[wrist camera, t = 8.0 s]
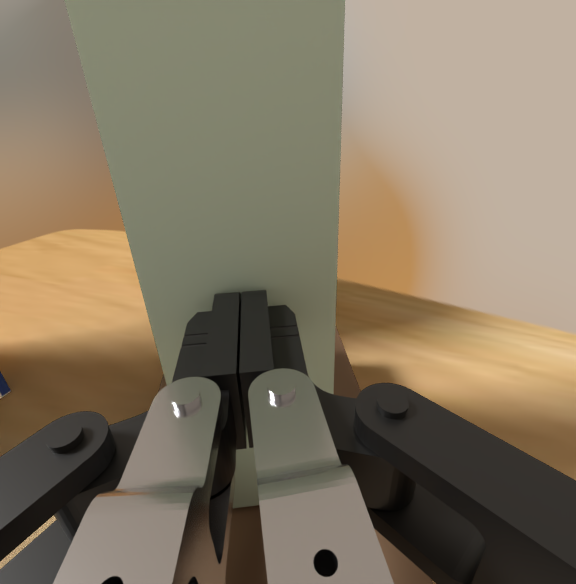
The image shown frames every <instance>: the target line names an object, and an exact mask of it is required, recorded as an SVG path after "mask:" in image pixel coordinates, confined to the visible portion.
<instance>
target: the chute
mask: <svg viewBox="0 0 576 584" xmlns="http://www.w3.org/2000/svg"><path fill="white" fill-rule="evenodd" d="M165 386H167V385H166V381H165V377H164V374H163V378H162V381H161V384H160V388H159V391H158V392H160V391H161V390H162V389H163V388H164V387H165ZM360 392H361V391H360V389H359V386H358V383H357V381H356V378H355V375H354V373H353V370H352V367H351V365H350V362H349V359H348V357H347V354H346V352H345V349H344V346H343V344H342V341H341V338H340V336H339V333H338V330H337V328H336V325H335V359H334V395H338V396H344V397H350V398H357V396H358V395H359V393H360ZM374 530H375V529H374ZM375 533H376V535H377V538H378V541H379V544H380V546H381V549H382V552H383V555H384V557H385V560H386V563H387V566H388V568H389V571H390V574H391V577H392V579H393V582H394V584H433V582H432V580H431V578H430V577H429V576H427V575H426V574H425V573H424V572H423V571H422V570H421V569H420V568H418V567H417V566H416V565H415V564H414V563H413V562H412V561H410V560H409V559H408V558H407V557H406V556H405V555H404V554H403V553H401V552H400V551H399V550H398V549H397V548H396V547H395V546H394V545H392V544H391V543H390V542H389V541H388V540H387V539H386V538H385V537H383V536H382V535H381V534H380V533H379V532H378V531H377V530H375ZM225 584H268V581H267V571H266V562H265V552H264V543H263V534H262V524H261V515H260V505H257V506H249V507H240V508H233V509H232V518H231V527H230V536H229V545H228V554H227V563H226V576H225Z"/></svg>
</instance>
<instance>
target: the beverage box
mask: <svg viewBox="0 0 576 584" xmlns="http://www.w3.org/2000/svg"><path fill="white" fill-rule="evenodd" d="M10 392H11V390H10V388H9V387H8V385H7V383H6V381H5V379H4V377H3V376H2V374H1V372H0V399H1V398H2V397H4V396H5V395H7V394H8V393H10Z"/></svg>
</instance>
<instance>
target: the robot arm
mask: <svg viewBox="0 0 576 584" xmlns="http://www.w3.org/2000/svg"><path fill="white" fill-rule="evenodd" d="M247 434H248V442H249V448H254V454H255V464H256V473H257V486H258V496H259V505H260V515H261V524H262V534H263V543H264V552H265V562H266V571H267V581H268V584H394V582H393V579H392V577H391V574H390V571H389V568H388V566H387V563H386V560H385V557H384V555H383V552H382V549H381V546H380V544H379V541H378V538H377V535H376V533H375V530H377V531H378V532H379V533H380V534H381V535H382V536H383V537H385V538H386V539H387V540H388V541H389V542H390V543H391V544H392V545H394V546H395V547H396V548H397V549H398V550H399V551H400V552H401V553H403V554H404V555H405V556H406V557H407V558H408V559H409V560H410V561H412V562H413V563H414V564H415V565H416V566H417V567H418V568H420V569H421V570H422V571H423V572H424V573H425V574H426V575H427V576H429V577H430V578H431V579H432V580H433V581H434V582H435V583H436V584H576V481H575V480H574V479H572V478H570V477H568V476H566V475H565V474H563V473H561V472H559V471H557V470H556V469H554V468H552V467H550V466H548V465H546V464H545V463H543V462H541V461H539V460H537V459H536V458H534V457H532V456H530V455H528V454H527V453H525V452H523V451H521V450H519V449H517V448H516V447H514V446H512V445H510V444H508V443H507V442H505V441H503V440H501V439H499V438H498V437H496V436H494V435H492V434H490V433H488V432H487V431H485V430H483V429H481V428H479V427H478V426H476V425H474V424H472V423H470V422H469V421H467V420H465V419H463V418H461V417H459V416H458V415H456V414H454V413H452V412H450V411H449V410H447V409H445V408H443V407H441V406H440V405H438V404H436V403H434V402H432V401H430V400H429V399H427V398H425V397H423V396H421V395H420V394H418V393H416V392H414V391H412V390H411V389H408V388H406V387H404V386H401V385H397V384H392V383H378V384H374V385H370V386H368V387H366V388H365V389H363V390H362V391H361V392H360V393H359V395H358V396H357V398H350V397H344V396H338V395H334V394H331V393H328V392H326V391H323V390H322V389H320V388H319V387H317V386H316V385H315V384H314V383H313V382H312V380H311V379H310V378H309V376H308V373H307V368H306V363H305V359H304V354H303V349H302V345H301V340H300V337H299V331H298V327H297V321H296V316H295V313H294V312H293V311H292V310H291V309H290V308H288V307H287V306H286V305H277V306H268V302H267V291H266V290H256V291H244V292H242V296H241V294H240V292H232V293H220V294H215V295H214V300H213V306H212V311H206V312H197V313H196V314H195V315H194V316H193V317H192V318H191V319H190V321H189V322H188V323H187V326H186V329H185V333H184V337H183V341H182V347H181V349H180V353H179V356H178V360H177V364H176V368H175V372H174V376H173V379H172V383H170V384H169V385H167V386H165V387H164V388H163V389H162V390H161V391H160V392H158V394H157V395H156V396H155V398H154V400H153V402H152V404H151V406H150V409H149V410H148V411H146V412H145V413H143V414H140V415H138V416H135V417H132V418H130V419H127V420H124V421H121V422H118V423H115V424H112V425H108V423H107V421H106V419H105V418H104V417H103V416H102V415H101V414H99V413H96V412H90V411H83V412H76V413H72V414H69V415H66V416H63V417H61V418H59V419H57V420H55V421H53V422H51V423H50V424H48V425H47V426H45V427H44V428H42V429H41V430H39V431H38V432H36V433H35V434H33V435H32V436H30V437H29V438H27V439H26V440H24V441H23V442H22V443H20V444H19V445H17V446H16V447H14V448H13V449H11V450H10V451H8V452H7V453H5V454H4V455H2V456H1V457H0V561H1V560H2V559H4V558H5V557H6V556H7V555H8V554H9V553H10V552H12V551H13V550H14V549H15V548H16V547H17V546H18V545H20V544H21V543H22V542H23V541H24V540H25V539H27V538H28V537H29V536H30V535H31V534H32V533H33V532H35V531H36V530H37V529H38V528H39V527H40V526H42V525H43V524H44V523H45V522H46V521H47V520H48V519H50V518H51V517H52V516H53V515H54V516H55V517H56V519H57V520H56V521H55V522H54V523H53V524H51V525H50V526H49V527H48V528H47V529H46V530H45V531H43V532H42V533H41V534H40V535H39V536H38V537H37V538H36V539H34V540H33V541H32V542H31V543H30V544H29V545H28V546H26V547H25V548H24V549H23V550H22V551H21V552H20V553H19V554H17V555H16V556H15V557H14V558H13V559H12V560H11V561H9V562H8V563H7V564H6V565H5V566H4V567H3V568H2V569H0V584H225V576H226V563H227V554H228V545H229V536H230V527H231V518H232V509H233V500H234V491H235V474H234V473H235V468H236V450H238V449H247ZM374 529H375V530H374Z"/></svg>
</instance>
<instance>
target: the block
mask: <svg viewBox="0 0 576 584" xmlns="http://www.w3.org/2000/svg"><path fill="white" fill-rule="evenodd" d="M65 4H66V8H67V12H68V16H69V19H70V23H71V27H72V31H73V34H74V38H75V42H76V46H77V49H78V53H79V57H80V61H81V64H82V68H83V72H84V76H85V79H86V83H87V87H88V91H89V95H90V98H91V102H92V106H93V110H94V113H95V117H96V121H97V124H98V129H99V132H100V136H101V139H102V144H103V147H104V151H105V155H106V158H107V162H108V166H109V170H110V174H111V177H112V181H113V185H114V189H115V192H116V196H117V200H118V204H119V208H120V211H121V215H122V219H123V222H124V226H125V230H126V234H127V238H128V242H129V245H130V249H131V253H132V257H133V260H134V264H135V268H136V272H137V275H138V279H139V283H140V287H141V290H142V294H143V298H144V302H145V306H146V309H147V313H148V317H149V321H150V324H151V328H152V332H153V336H154V339H155V343H156V347H157V351H158V355H159V358H160V362H161V366H162V370H163V373H164V377H165V381H166V385H169V384H170V383H172V379H173V376H174V372H175V368H176V364H177V360H178V356H179V353H180V349H181V347H182V341H183V337H184V333H185V329H186V326H187V323H188V322H189V321H190V319H191V318H192V317H193V316H194V315H195V314H196V313H197V312H206V311H212V306H213V300H214V295H215V294H220V293H232V292H240V294H241V296H242V292H244V291H256V290H266V291H267V302H268V306H277V305H286V306H287V307H288V308H290V309H291V310H292V311H293V312H294V313H295V316H296V321H297V327H298V331H299V337H300V340H301V345H302V349H303V354H304V359H305V363H306V368H307V373H308V376H309V378H310V379H311V380H312V382H313V383H314V384H315V385H316V386H317V387H319V388H320V389H322V390H323V391H326V392H328V393H331V394H334V359H335V325H336V291H337V257H338V256H337V255H338V223H339V222H338V221H339V188H340V187H339V186H340V155H341V153H340V152H341V119H342V117H341V116H342V87H343V52H344V18H345V0H65ZM234 474H235V491H234V500H233V508H240V507H249V506H257V505H259V496H258V486H257V473H256V464H255V454H254V448H249V442H248V434H247V449H238V450H236V468H235V473H234Z"/></svg>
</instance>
